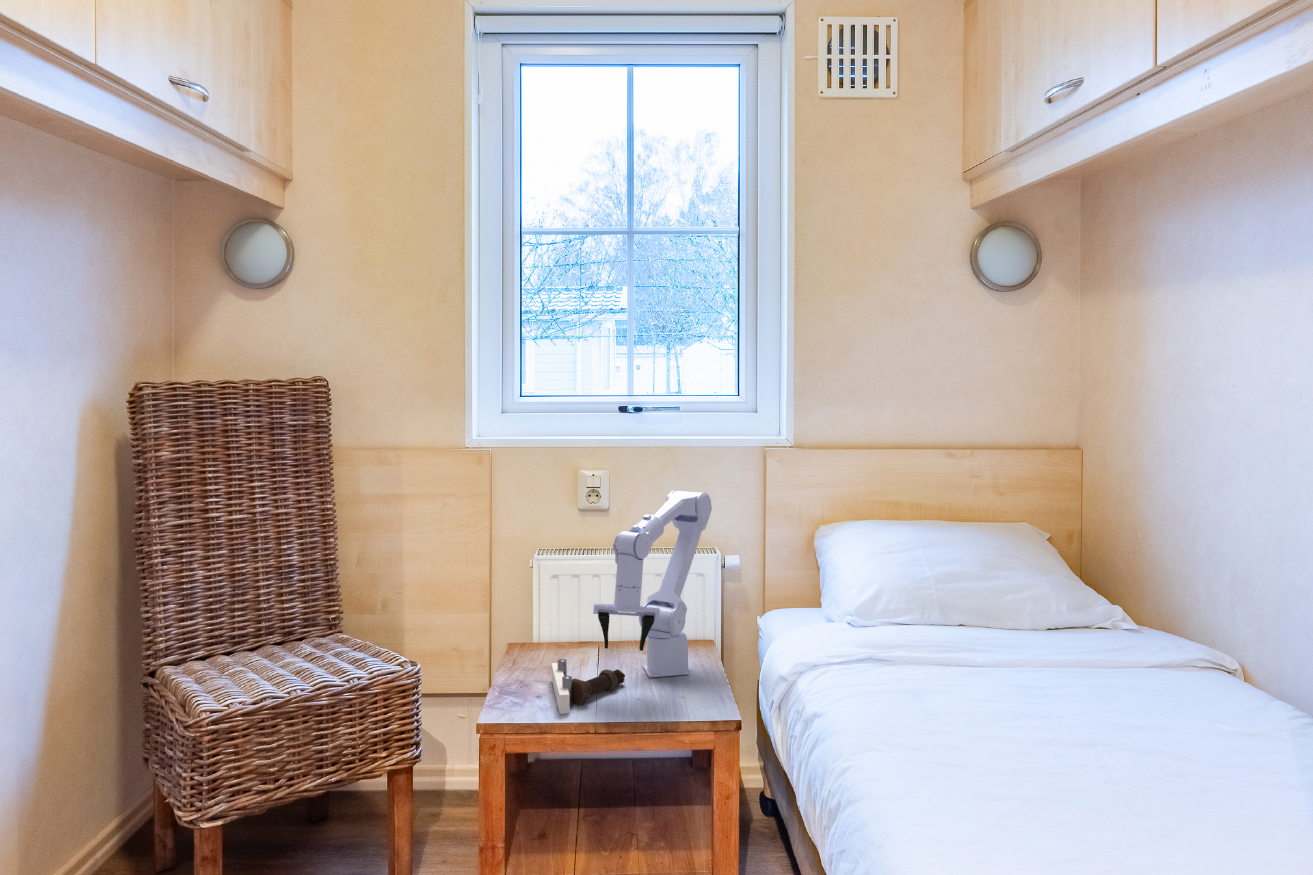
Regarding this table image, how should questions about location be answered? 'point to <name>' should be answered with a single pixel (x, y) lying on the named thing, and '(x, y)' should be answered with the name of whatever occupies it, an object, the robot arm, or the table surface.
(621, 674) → the bolt
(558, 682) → the bar
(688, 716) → the table surface
